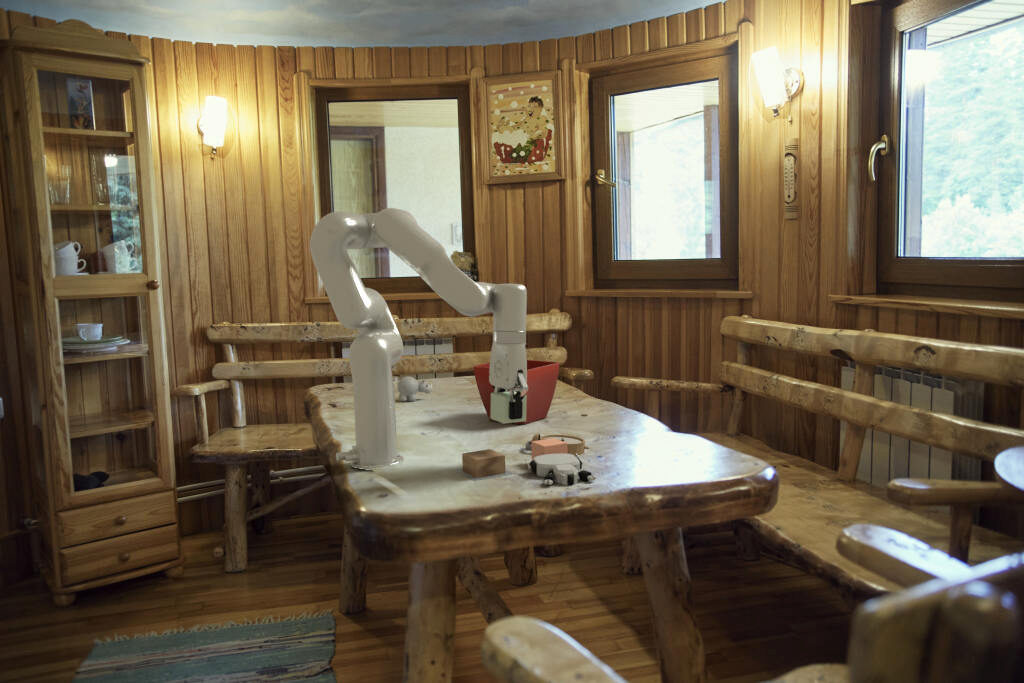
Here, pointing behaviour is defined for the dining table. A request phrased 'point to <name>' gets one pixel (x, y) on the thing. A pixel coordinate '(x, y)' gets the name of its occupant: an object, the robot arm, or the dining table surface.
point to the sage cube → (504, 407)
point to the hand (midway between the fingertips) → (508, 415)
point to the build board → (481, 477)
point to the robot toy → (559, 468)
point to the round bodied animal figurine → (411, 388)
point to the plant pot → (539, 388)
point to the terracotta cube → (548, 447)
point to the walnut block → (483, 463)
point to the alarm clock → (572, 442)
